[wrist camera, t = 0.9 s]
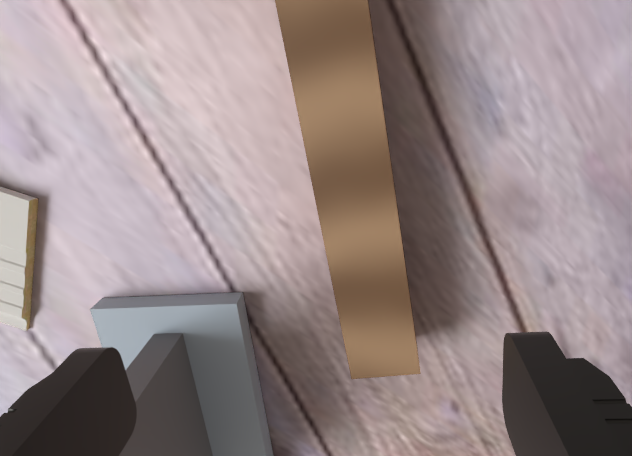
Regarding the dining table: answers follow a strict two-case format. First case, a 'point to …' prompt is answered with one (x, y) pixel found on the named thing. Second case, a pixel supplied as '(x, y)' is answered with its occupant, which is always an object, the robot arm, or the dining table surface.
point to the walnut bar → (352, 179)
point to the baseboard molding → (16, 256)
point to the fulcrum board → (207, 357)
